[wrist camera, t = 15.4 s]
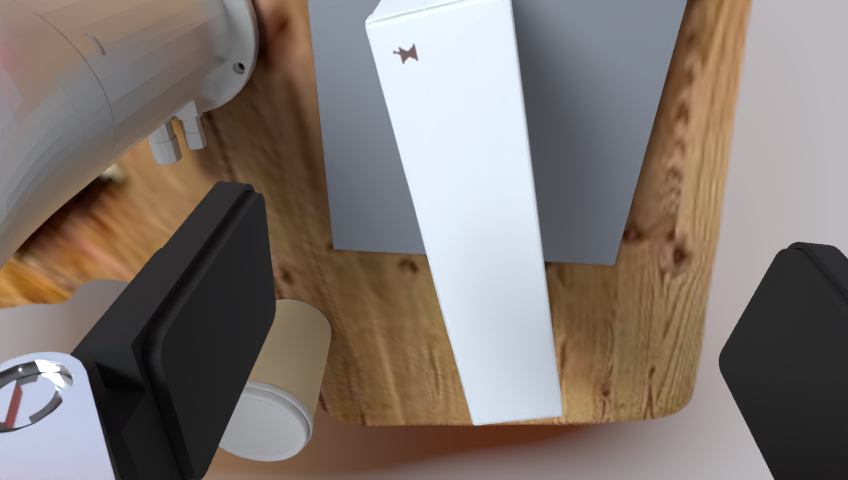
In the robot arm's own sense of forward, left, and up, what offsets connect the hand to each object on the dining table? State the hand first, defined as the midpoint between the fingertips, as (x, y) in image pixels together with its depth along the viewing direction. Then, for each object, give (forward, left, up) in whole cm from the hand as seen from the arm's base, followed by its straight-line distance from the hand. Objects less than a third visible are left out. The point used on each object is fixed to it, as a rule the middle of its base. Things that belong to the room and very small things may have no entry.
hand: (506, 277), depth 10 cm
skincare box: (-7, 0, -26) cm, 27 cm away
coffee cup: (-31, +17, -30) cm, 47 cm away
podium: (-7, 0, -30) cm, 31 cm away
